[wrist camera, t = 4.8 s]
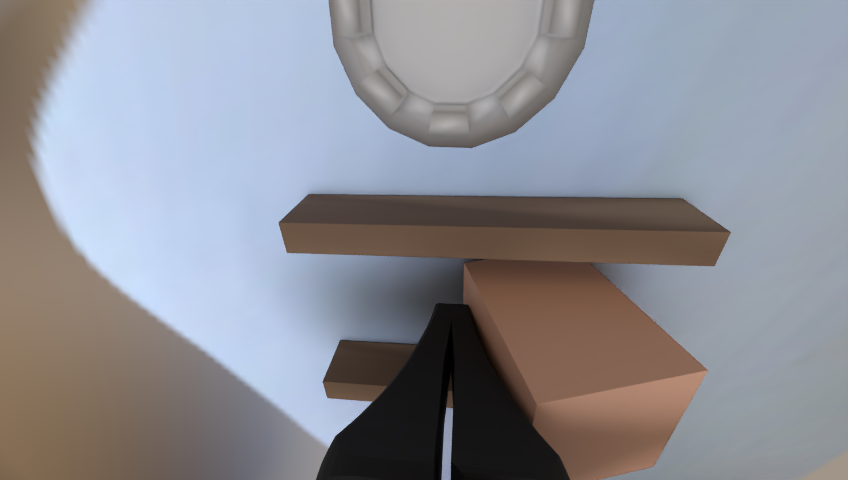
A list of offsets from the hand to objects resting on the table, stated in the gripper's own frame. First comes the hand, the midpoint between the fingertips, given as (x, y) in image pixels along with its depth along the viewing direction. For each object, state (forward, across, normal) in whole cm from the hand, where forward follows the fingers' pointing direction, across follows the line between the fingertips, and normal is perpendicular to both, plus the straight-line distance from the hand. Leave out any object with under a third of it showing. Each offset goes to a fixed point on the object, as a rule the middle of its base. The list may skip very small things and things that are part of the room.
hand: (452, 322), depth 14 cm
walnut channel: (+2, -1, 0) cm, 2 cm away
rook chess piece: (+2, 0, -10) cm, 10 cm away
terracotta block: (+1, -3, 0) cm, 3 cm away
